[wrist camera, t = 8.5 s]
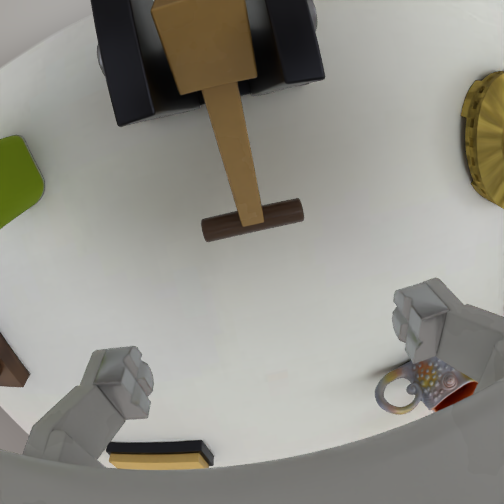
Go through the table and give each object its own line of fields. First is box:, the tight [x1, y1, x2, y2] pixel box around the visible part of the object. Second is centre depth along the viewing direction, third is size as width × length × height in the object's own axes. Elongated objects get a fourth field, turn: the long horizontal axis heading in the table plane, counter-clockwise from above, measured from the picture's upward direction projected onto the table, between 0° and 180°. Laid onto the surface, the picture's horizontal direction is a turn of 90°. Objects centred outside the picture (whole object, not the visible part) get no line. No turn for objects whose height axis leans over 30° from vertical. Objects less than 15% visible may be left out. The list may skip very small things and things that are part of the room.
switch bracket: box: [91, 0, 325, 127], centre depth 11 cm, size 4×10×13 cm, turn 102°
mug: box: [375, 356, 478, 414], centre depth 27 cm, size 12×7×7 cm, turn 93°
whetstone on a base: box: [106, 440, 214, 470], centre depth 34 cm, size 5×14×3 cm, turn 102°
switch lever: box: [151, 0, 304, 242], centre depth 11 cm, size 12×5×2 cm
